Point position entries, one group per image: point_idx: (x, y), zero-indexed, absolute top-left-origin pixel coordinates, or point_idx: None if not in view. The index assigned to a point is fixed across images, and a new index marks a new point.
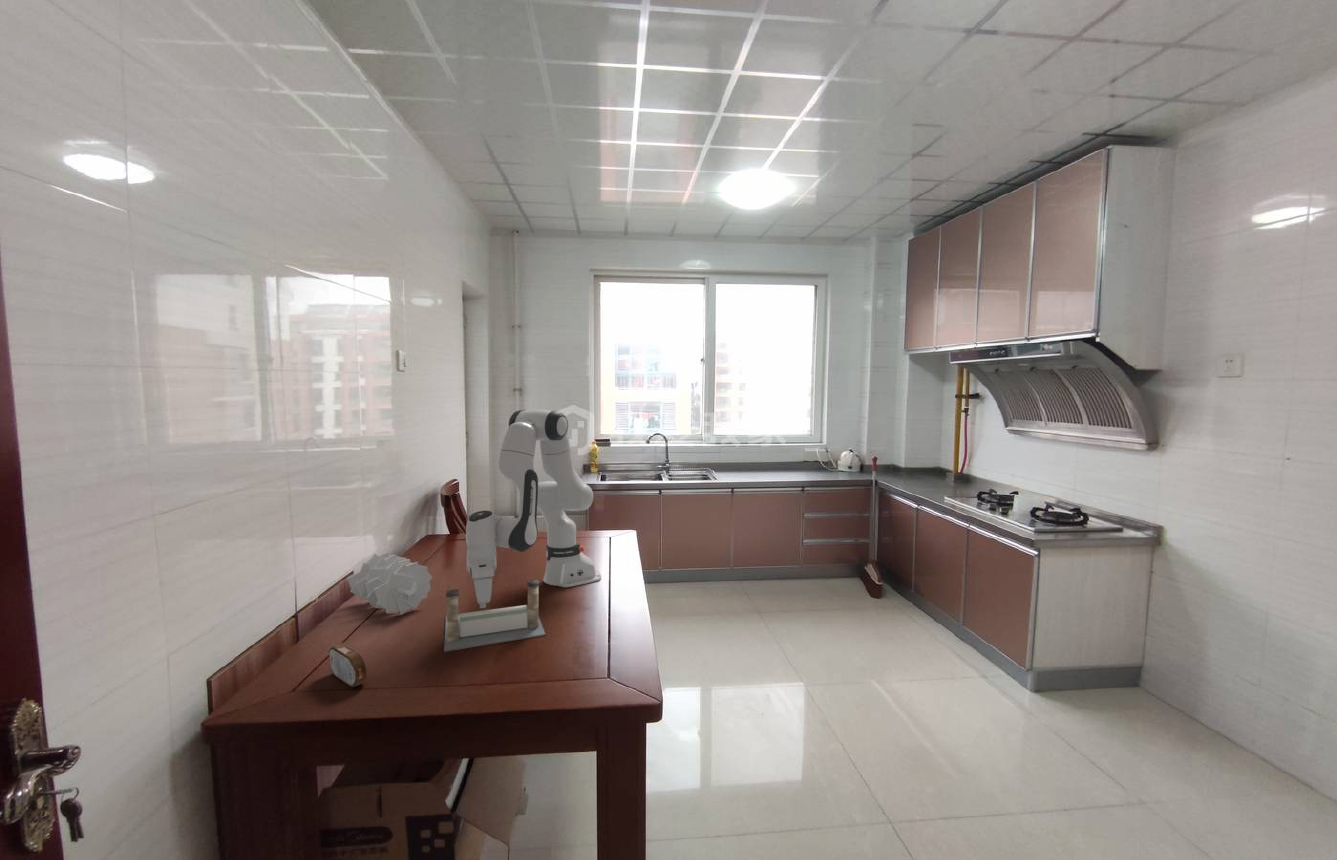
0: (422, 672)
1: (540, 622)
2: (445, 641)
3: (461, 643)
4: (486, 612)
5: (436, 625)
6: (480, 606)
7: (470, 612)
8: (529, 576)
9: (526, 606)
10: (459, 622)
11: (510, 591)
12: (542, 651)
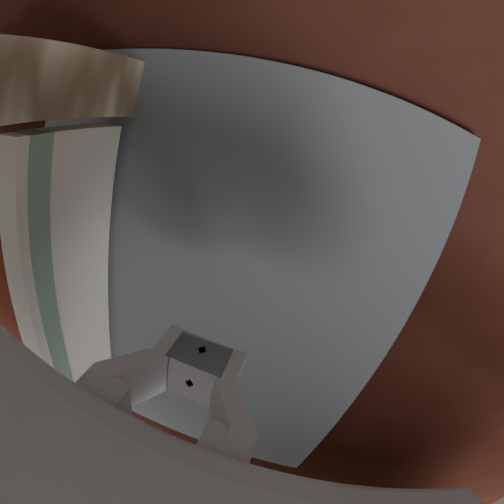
0: (14, 16)
1: (135, 411)
2: (117, 52)
3: (68, 123)
4: (10, 293)
5: (400, 48)
6: (166, 332)
7: (13, 213)
8: (492, 478)
9: None
10: (331, 169)
11: (472, 446)
12: (11, 315)
